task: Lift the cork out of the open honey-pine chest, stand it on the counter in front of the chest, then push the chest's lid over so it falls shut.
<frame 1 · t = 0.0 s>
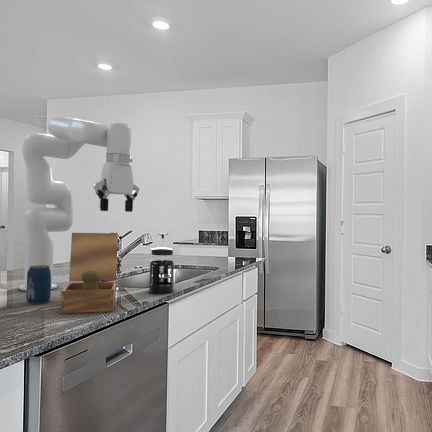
hand: (116, 211, 144), 31 cm above the worktop, tool pointing down, fingers open, 9 cm apart
soda can: (38, 303, 143), on the worktop
french press: (160, 292, 167), on the worktop
chest: (90, 307, 138), on the worktop
cork: (89, 305, 137), point 1 cm above the worktop, touching chest
lid: (94, 256, 147), point 15 cm above the worktop, hinge at 100.0°
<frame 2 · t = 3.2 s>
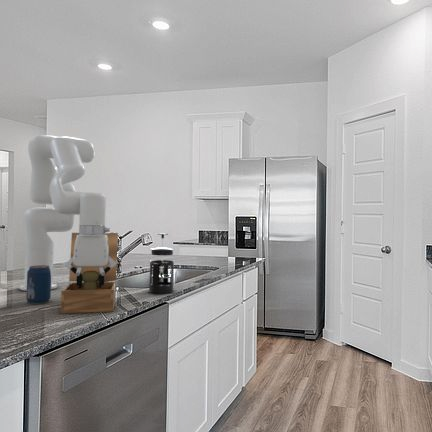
hand: (90, 287, 137), 7 cm above the worktop, tool pointing down, fingers closed on cork, 5 cm apart
cork: (89, 305, 137), point 1 cm above the worktop, touching chest, gripper
everything else where it was.
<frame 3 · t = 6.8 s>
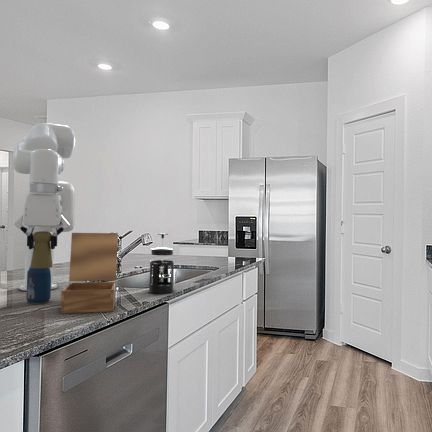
hand: (42, 248, 132), 19 cm above the worktop, tool pointing down, fingers closed on cork, 5 cm apart
cork: (41, 267, 132), point 13 cm above the worktop, touching gripper
everything else where it was.
when the fingers open (6 cm above the worktop, at t = 10.2 s): cork stays where it is, on the worktop.
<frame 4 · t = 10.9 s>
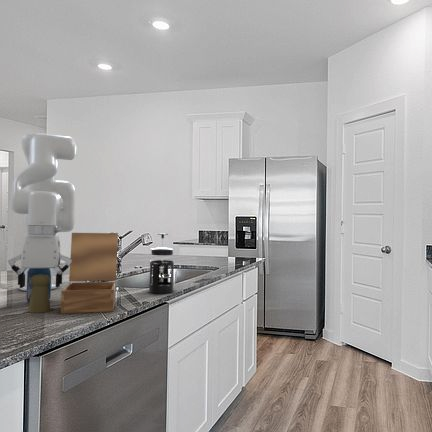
hand: (40, 286, 132), 7 cm above the worktop, tool pointing down, fingers open, 9 cm apart
cork: (39, 311, 132), on the worktop
everything else where it was.
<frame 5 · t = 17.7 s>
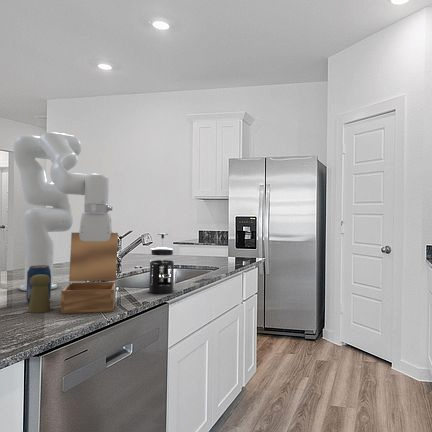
hand: (94, 262, 149), 13 cm above the worktop, tool pointing down, fingers closed
lid: (94, 256, 146), point 15 cm above the worktop, hinge at 97.3°, touching gripper
everything else where it was.
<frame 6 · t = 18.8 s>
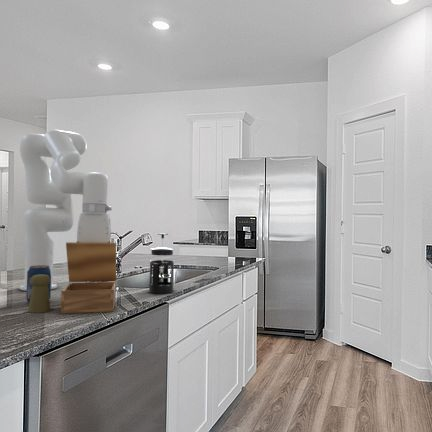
hand: (93, 264, 143), 13 cm above the worktop, tool pointing down, fingers closed
lid: (92, 262, 141), point 14 cm above the worktop, hinge at 55.4°
everything else where it was.
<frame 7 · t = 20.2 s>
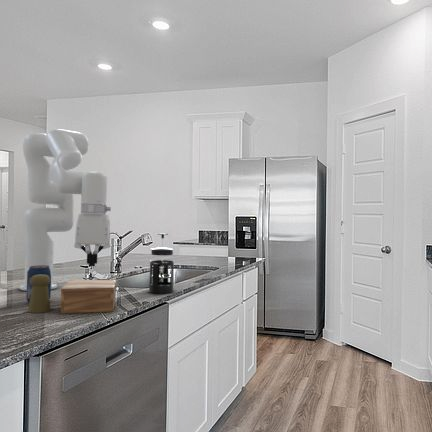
hand: (91, 265, 140), 13 cm above the worktop, tool pointing down, fingers closed
lid: (90, 284, 138), point 7 cm above the worktop, hinge at -0.1°
everything else where it was.
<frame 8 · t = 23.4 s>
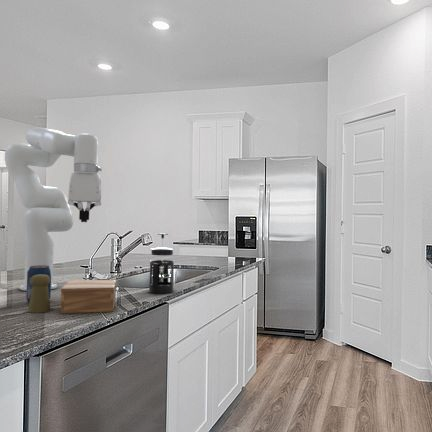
hand: (84, 221, 150), 27 cm above the worktop, tool pointing down, fingers closed
nothing on the worktop moved.
at the end: cork inside the target area (0.1 cm from its centre), on the worktop; cork tilted 0°; lid at +0° (first picture: +100°) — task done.
